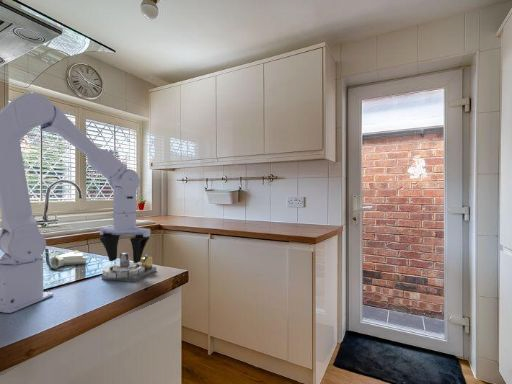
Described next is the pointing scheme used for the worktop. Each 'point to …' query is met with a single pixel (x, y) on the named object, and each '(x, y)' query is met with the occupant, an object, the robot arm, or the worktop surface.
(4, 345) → the worktop surface
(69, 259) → the pipe fitting
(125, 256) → the silver stemmed round piece
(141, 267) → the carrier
